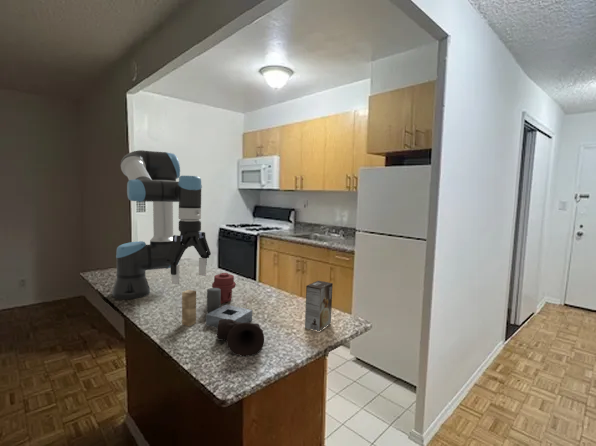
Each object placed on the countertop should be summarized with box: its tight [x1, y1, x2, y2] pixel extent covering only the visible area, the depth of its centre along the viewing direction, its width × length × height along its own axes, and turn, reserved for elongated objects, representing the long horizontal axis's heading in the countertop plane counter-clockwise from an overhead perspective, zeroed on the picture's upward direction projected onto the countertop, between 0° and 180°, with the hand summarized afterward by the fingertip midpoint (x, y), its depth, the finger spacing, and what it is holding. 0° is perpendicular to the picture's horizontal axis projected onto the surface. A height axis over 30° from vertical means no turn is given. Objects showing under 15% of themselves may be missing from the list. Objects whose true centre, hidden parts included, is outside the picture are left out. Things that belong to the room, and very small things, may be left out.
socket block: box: [205, 304, 253, 329], centre depth 124 cm, size 12×12×4 cm
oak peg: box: [181, 289, 197, 327], centre depth 121 cm, size 3×3×12 cm
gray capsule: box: [206, 287, 221, 314], centre depth 134 cm, size 5×5×9 cm
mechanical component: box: [211, 272, 237, 305], centre depth 146 cm, size 12×10×10 cm
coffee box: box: [304, 280, 333, 331], centre depth 123 cm, size 9×6×16 cm
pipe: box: [216, 319, 265, 357], centre depth 107 cm, size 10×15×15 cm
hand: (189, 279), depth 120 cm, fingers open, 13 cm apart
